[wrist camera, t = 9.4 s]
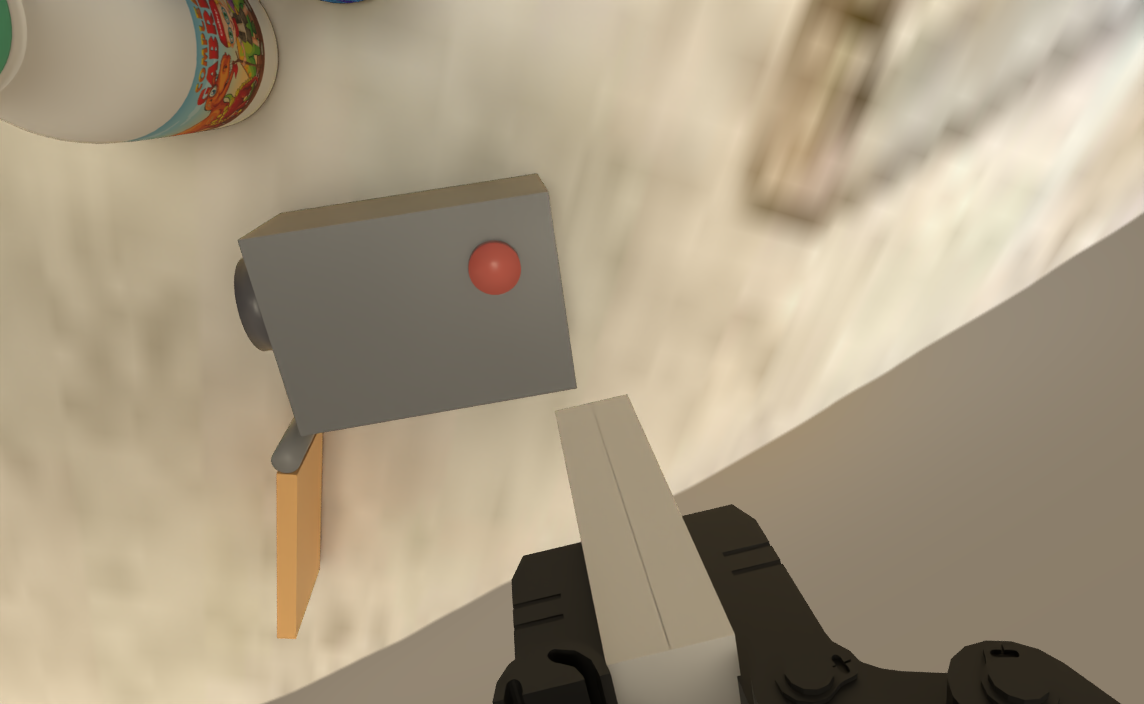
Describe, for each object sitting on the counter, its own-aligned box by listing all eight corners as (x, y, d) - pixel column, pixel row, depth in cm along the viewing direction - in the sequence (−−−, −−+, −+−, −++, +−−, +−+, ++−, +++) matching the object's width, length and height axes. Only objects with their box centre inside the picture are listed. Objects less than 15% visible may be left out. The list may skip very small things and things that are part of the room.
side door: (298, 393, 40) (265, 447, 34) (327, 396, 40) (300, 449, 34) (296, 566, 44) (267, 640, 38) (323, 567, 44) (298, 641, 38)
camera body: (307, 385, 41) (269, 449, 33) (255, 216, 37) (199, 249, 30) (562, 341, 42) (578, 395, 34) (537, 173, 38) (549, 194, 31)
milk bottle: (174, 152, 35) (-167, 225, 17) (78, -6, 32) (-461, -126, 14) (311, 92, 35) (118, 101, 17) (227, -71, 32) (-121, -283, 14)
